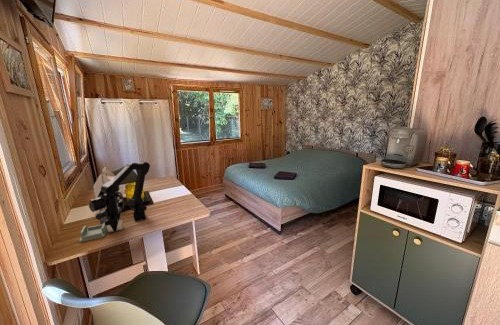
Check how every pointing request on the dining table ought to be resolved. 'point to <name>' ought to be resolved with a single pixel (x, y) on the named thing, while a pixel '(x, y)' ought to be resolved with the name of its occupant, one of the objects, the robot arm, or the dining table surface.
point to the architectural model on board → (104, 217)
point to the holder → (93, 232)
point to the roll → (119, 226)
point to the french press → (119, 199)
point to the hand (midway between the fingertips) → (115, 228)
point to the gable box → (103, 180)
